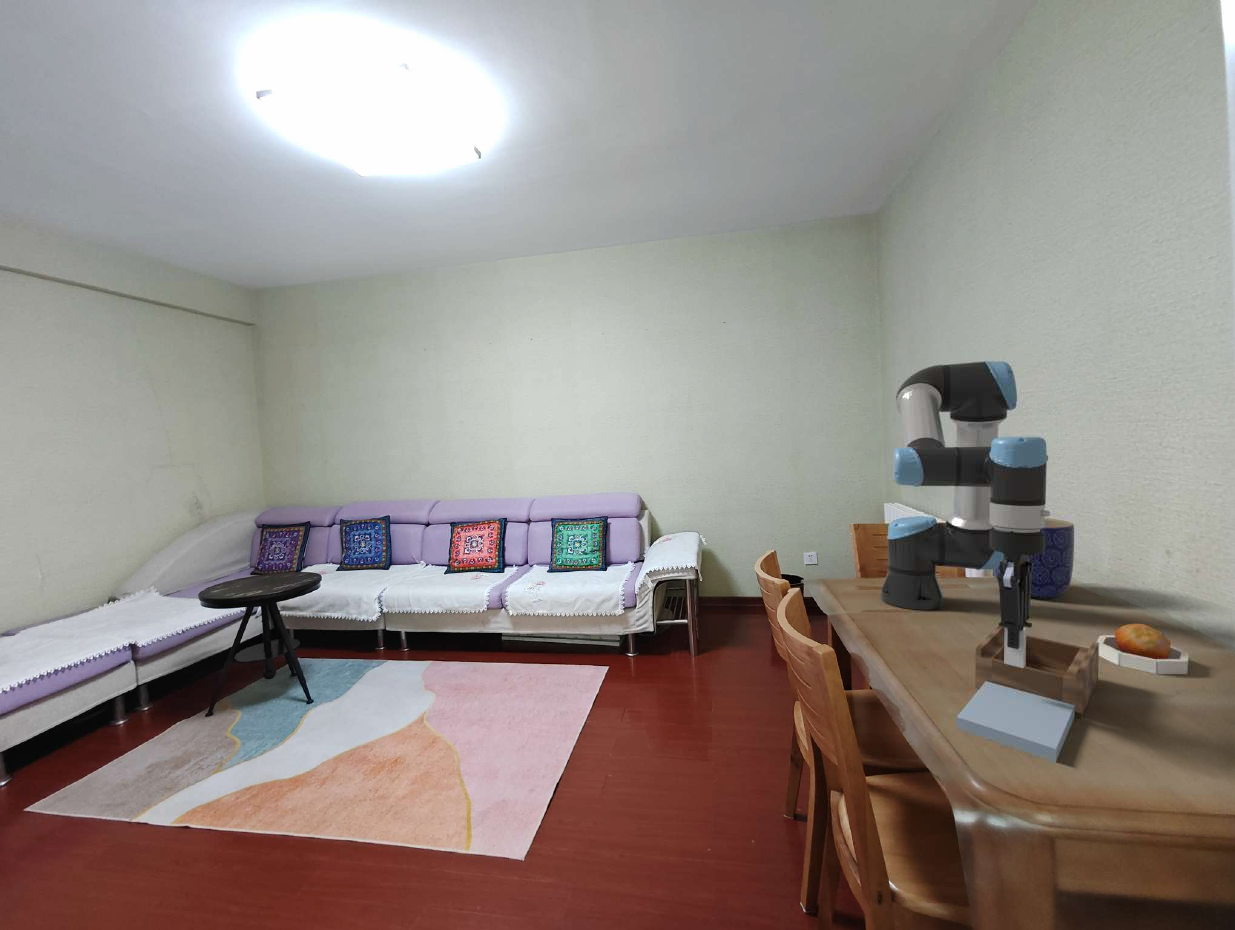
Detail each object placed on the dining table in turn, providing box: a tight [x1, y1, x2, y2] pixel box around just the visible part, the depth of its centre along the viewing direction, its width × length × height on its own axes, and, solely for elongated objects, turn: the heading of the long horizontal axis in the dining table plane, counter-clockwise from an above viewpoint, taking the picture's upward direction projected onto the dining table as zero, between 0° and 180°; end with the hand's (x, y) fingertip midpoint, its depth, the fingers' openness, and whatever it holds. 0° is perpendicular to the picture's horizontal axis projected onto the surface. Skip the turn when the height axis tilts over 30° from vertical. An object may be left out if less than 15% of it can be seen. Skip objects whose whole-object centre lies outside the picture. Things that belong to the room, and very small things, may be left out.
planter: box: [992, 517, 1075, 600], centre depth 151 cm, size 18×18×21 cm
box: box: [974, 625, 1100, 719], centre depth 99 cm, size 18×15×8 cm
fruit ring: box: [1096, 634, 1190, 675], centre depth 108 cm, size 13×13×2 cm
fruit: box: [1114, 623, 1172, 659], centre depth 108 cm, size 8×8×8 cm
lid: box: [956, 681, 1075, 763], centre depth 87 cm, size 17×12×2 cm
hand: (1014, 664), depth 91 cm, fingers closed
